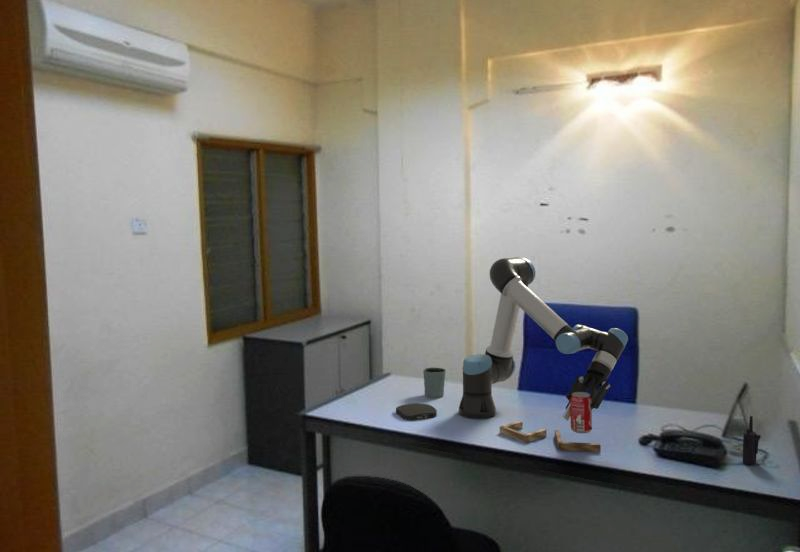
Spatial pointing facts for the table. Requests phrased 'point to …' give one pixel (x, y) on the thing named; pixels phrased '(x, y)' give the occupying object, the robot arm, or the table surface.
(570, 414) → the robot arm
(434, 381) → the grey-green cup
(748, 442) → the two-way radio
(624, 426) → the table surface
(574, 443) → the bracket
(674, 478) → the table surface
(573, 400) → the soda can
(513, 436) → the wooden u-channel
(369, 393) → the table surface
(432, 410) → the media streaming box
